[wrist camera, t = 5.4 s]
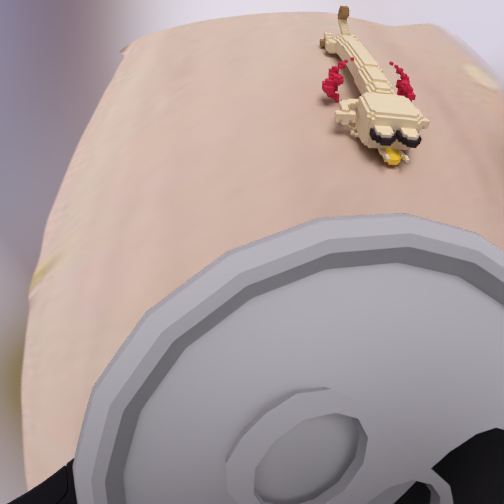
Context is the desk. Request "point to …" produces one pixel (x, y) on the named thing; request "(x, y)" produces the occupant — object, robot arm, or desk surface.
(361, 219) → the can
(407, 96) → the cream voxel animal
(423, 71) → the desk surface
